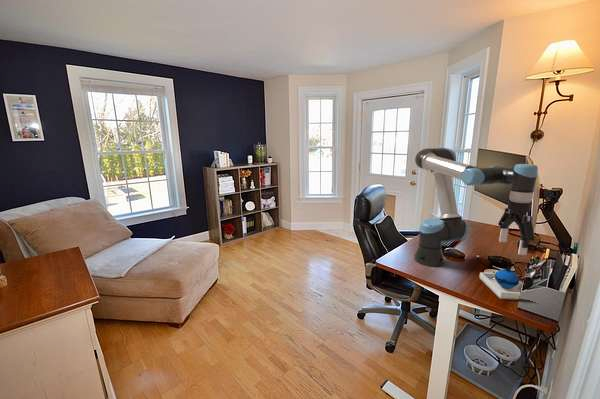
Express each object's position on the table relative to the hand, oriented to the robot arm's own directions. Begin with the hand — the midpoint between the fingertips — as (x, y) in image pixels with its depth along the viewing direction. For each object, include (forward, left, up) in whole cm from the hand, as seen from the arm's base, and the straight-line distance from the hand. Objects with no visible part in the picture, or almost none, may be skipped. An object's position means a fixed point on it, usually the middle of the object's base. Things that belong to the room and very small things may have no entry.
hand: (511, 247), depth 116 cm
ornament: (0, 0, -19) cm, 19 cm away
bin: (0, 0, -20) cm, 20 cm away
